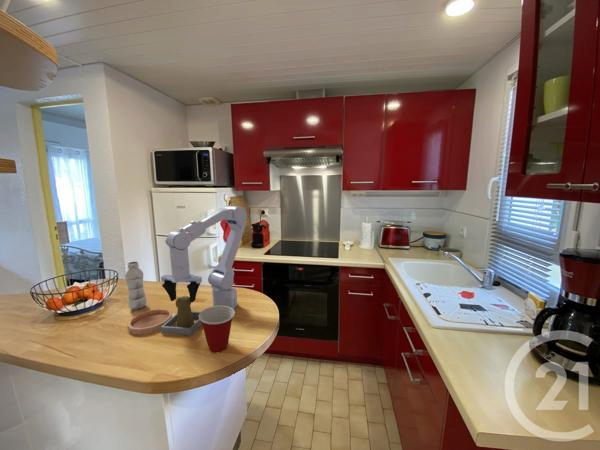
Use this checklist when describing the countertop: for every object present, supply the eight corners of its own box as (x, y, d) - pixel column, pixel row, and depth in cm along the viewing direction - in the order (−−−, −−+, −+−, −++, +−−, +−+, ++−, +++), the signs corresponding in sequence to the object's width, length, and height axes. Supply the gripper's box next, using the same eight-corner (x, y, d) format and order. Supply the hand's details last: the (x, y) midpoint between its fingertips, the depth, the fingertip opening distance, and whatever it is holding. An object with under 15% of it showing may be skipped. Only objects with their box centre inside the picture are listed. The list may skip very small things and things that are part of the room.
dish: (179, 314, 97) (179, 309, 96) (154, 335, 83) (154, 330, 82) (148, 312, 98) (147, 307, 98) (118, 332, 84) (117, 327, 84)
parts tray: (207, 318, 94) (206, 312, 93) (191, 335, 83) (190, 329, 82) (180, 316, 95) (180, 310, 95) (161, 333, 84) (160, 327, 84)
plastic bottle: (127, 313, 98) (121, 266, 94) (130, 306, 103) (124, 261, 100) (146, 309, 100) (141, 264, 97) (147, 302, 106) (143, 259, 103)
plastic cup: (237, 354, 73) (235, 318, 71) (199, 362, 70) (196, 324, 68) (236, 334, 84) (234, 302, 82) (203, 339, 81) (200, 306, 79)
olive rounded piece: (187, 331, 85) (184, 302, 84) (172, 329, 87) (169, 300, 85) (197, 321, 91) (195, 294, 89) (183, 320, 92) (181, 293, 91)
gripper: (153, 267, 82) (157, 304, 84) (192, 269, 80) (195, 307, 82) (167, 261, 89) (170, 295, 91) (203, 262, 87) (206, 297, 89)
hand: (183, 300), depth 87 cm, fingers open, 7 cm apart
